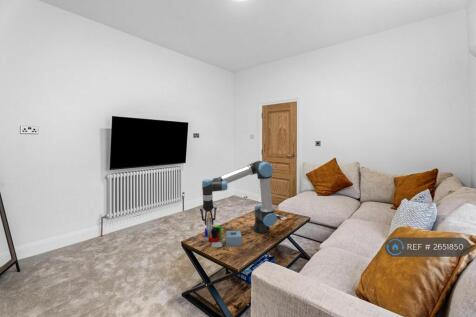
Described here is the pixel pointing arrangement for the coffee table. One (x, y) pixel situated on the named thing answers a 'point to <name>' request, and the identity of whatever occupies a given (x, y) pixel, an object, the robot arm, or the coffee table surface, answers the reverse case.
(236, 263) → the coffee table surface
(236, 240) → the block
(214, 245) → the tool mat
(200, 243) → the coffee table surface
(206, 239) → the puzzle toy
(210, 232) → the chuck key
